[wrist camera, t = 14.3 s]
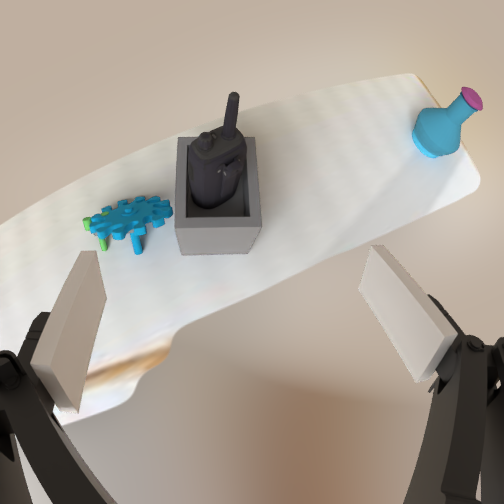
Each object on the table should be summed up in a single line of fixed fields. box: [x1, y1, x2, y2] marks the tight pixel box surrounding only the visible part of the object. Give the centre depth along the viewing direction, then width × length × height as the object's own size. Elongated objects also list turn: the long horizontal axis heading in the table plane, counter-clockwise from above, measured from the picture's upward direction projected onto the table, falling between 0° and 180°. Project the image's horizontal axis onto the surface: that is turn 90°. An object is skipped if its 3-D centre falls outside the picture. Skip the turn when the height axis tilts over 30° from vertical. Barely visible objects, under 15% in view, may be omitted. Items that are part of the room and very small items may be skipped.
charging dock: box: [175, 137, 262, 255], centre depth 35 cm, size 8×10×10 cm
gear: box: [83, 196, 173, 255], centre depth 36 cm, size 11×6×10 cm
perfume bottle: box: [412, 87, 483, 158], centre depth 42 cm, size 9×9×15 cm
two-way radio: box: [188, 92, 247, 209], centre depth 27 cm, size 6×4×15 cm
